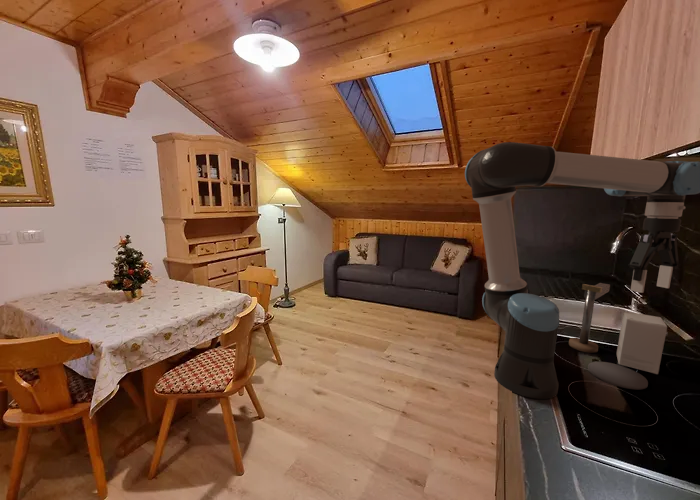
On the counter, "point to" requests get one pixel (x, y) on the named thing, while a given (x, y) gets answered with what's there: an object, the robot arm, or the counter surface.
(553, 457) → the counter surface
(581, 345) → the disc
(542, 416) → the counter surface
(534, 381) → the robot arm
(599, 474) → the counter surface
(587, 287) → the swing latch
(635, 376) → the coaster
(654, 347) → the supplement box
